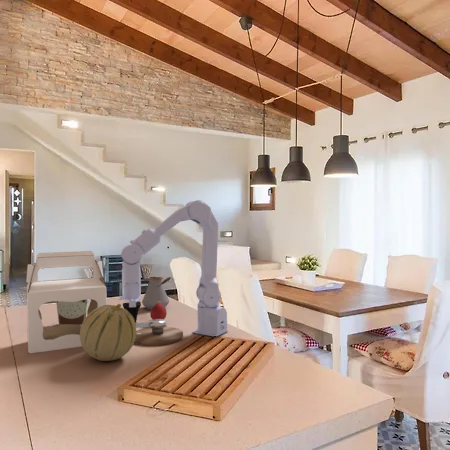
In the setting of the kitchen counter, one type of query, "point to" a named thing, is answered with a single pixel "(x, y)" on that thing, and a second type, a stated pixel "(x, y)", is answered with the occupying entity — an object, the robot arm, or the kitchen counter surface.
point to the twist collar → (152, 323)
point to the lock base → (158, 336)
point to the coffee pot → (155, 293)
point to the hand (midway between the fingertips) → (132, 325)
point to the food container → (71, 312)
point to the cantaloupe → (108, 332)
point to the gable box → (61, 298)
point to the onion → (158, 311)
